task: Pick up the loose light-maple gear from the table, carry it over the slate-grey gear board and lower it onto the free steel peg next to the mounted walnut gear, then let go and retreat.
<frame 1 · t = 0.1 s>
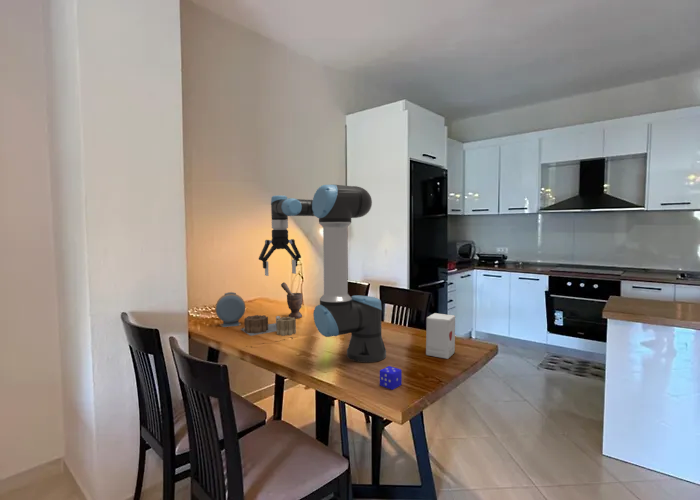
hand: (280, 274, 177), 28 cm above the table, fingers open, 13 cm apart
mortar and pestle: (292, 318, 208), on the table
supplement box: (440, 354, 148), on the table
alarm clock: (231, 327, 189), on the table
die: (390, 386, 119), on the table
walnut gear: (256, 330, 178), resting on gear board
maple gear: (286, 336, 173), on the table
gear board: (267, 331, 181), on the table
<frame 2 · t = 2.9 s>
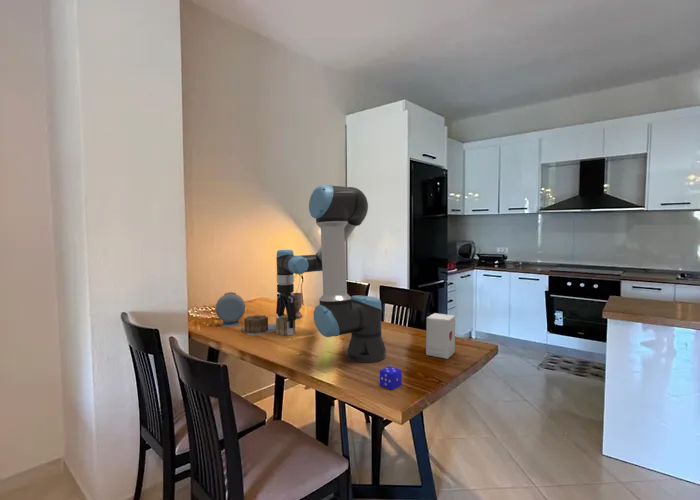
hand: (285, 332, 173), 2 cm above the table, fingers closed on maple gear, 9 cm apart
maple gear: (286, 336, 173), on the table, touching gripper
everything else where it was.
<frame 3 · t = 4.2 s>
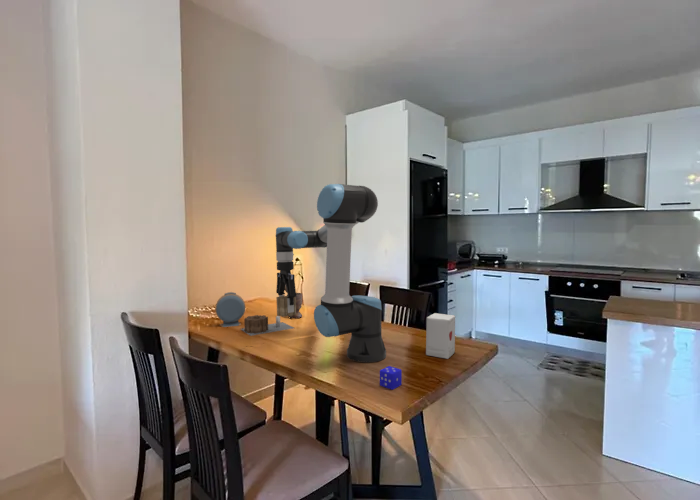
hand: (286, 310, 172), 12 cm above the table, fingers closed on maple gear, 9 cm apart
maple gear: (286, 314, 172), point 10 cm above the table, touching gripper
everything else where it was.
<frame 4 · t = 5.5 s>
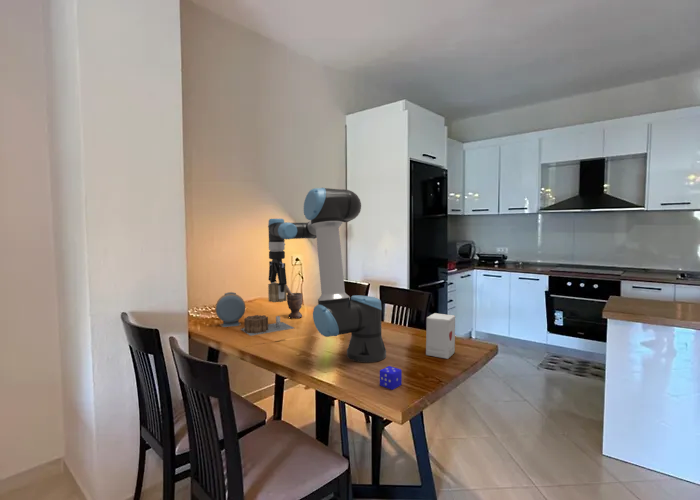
hand: (277, 296, 183), 16 cm above the table, fingers closed on maple gear, 9 cm apart
maple gear: (277, 300, 184), point 14 cm above the table, touching gripper
everything else where it was.
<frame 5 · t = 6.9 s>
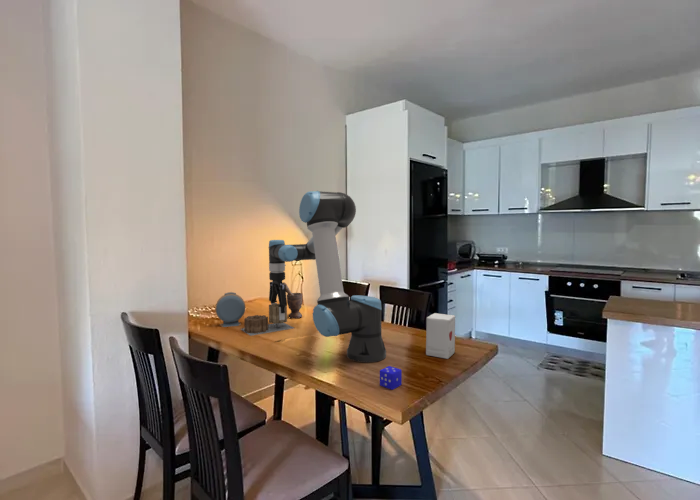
hand: (278, 317, 184), 6 cm above the table, fingers closed on maple gear, 9 cm apart
maple gear: (278, 321, 184), point 4 cm above the table, touching gripper
everything else where it was.
when the fingers open (4 cm above the table, at t = 8.1 s): maple gear drops 1 cm, resting on gear board.
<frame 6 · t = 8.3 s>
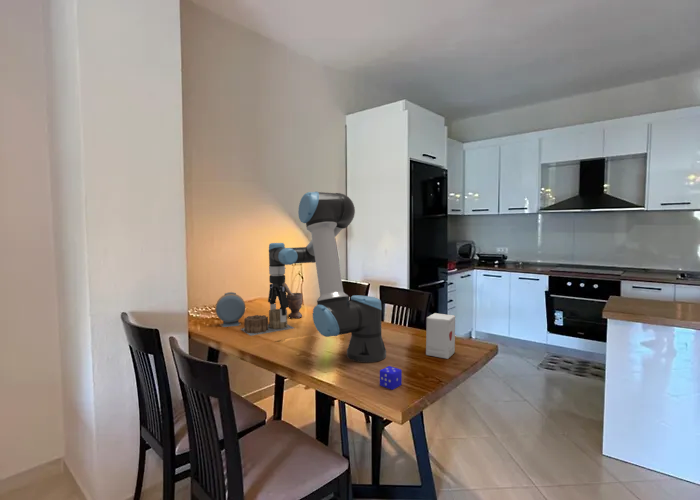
hand: (278, 319, 184), 5 cm above the table, fingers open, 11 cm apart
maple gear: (278, 326, 184), point 1 cm above the table, touching gear board
everything else where it was.
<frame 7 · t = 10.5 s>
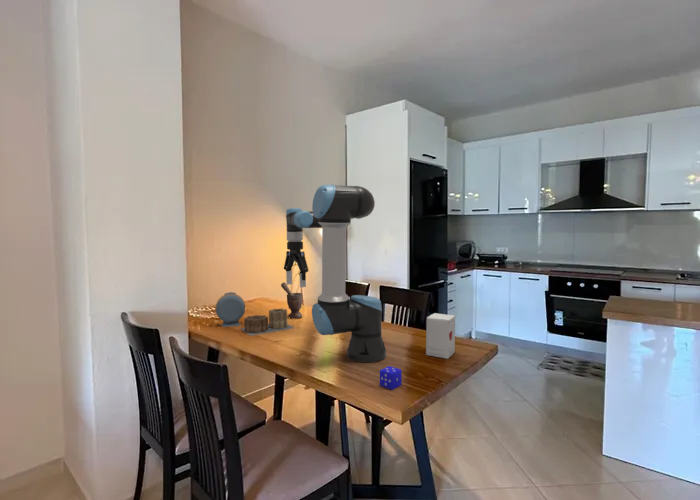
hand: (296, 285, 180), 22 cm above the table, fingers open, 13 cm apart
nothing on the table moved.
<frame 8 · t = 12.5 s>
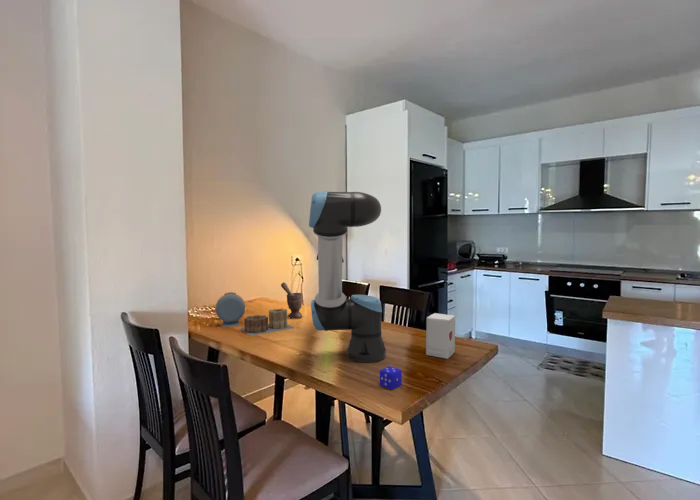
hand: (329, 276, 176), 27 cm above the table, fingers open, 13 cm apart
nothing on the table moved.
at the end: maple gear 0.1 cm from the target spot, point 1.5 cm above the table; maple gear tilted 0°; the gripper is holding nothing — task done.
